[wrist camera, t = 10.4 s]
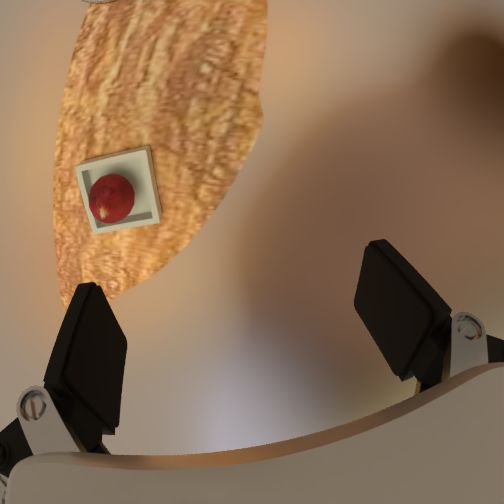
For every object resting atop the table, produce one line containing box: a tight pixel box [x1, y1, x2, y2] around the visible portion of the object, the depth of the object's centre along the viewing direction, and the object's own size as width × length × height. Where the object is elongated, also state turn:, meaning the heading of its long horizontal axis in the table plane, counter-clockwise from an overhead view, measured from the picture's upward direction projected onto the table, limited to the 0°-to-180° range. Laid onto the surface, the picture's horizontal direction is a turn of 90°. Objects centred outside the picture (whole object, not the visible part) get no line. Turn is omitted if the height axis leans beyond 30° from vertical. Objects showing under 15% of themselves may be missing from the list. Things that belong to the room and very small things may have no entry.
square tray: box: [75, 145, 162, 234], centre depth 32 cm, size 10×10×3 cm
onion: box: [88, 174, 135, 224], centre depth 30 cm, size 6×6×8 cm
